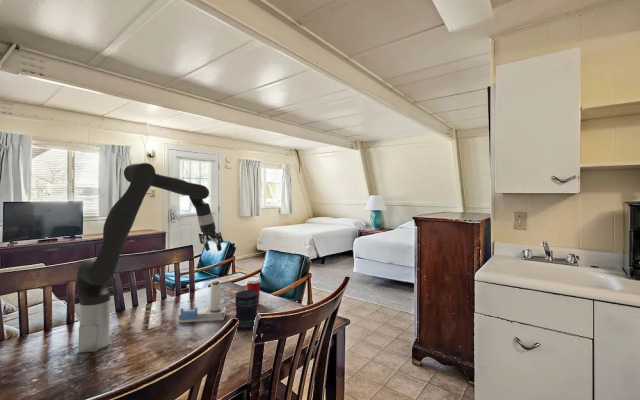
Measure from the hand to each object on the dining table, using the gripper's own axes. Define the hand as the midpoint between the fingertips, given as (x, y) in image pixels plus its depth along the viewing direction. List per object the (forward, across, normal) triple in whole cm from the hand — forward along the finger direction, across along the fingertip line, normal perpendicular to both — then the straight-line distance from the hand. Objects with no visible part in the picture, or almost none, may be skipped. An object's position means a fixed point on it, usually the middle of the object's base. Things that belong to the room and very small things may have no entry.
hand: (214, 250), depth 162 cm
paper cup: (+32, +17, +1) cm, 37 cm away
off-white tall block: (+24, +12, -20) cm, 34 cm away
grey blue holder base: (+24, +8, -24) cm, 35 cm away
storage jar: (+27, +32, -23) cm, 48 cm away
